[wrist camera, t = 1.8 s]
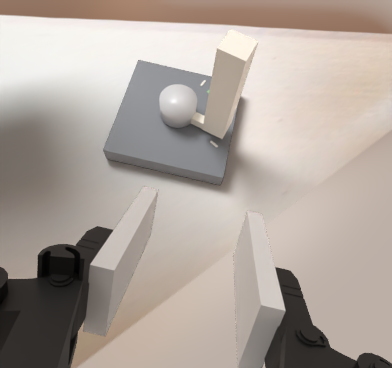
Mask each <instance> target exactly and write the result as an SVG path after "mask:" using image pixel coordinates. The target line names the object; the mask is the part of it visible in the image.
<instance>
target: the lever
mask: <svg viewBox="0 0 392 368" xmlns="http://www.w3.org/2000/svg"><path fill="white" fill-rule="evenodd" d="M257 44H258V41H257V40H255V39H253V38H251V37H248V36H246V35H244V34H242V33H239V32H237V31H235V30H232V29H230V30H229V32H228V33H227V35H226V36H225V38H224V39H223V40H222V42H221V43H220V45H219V46H218V48H217V52H216V57H215V63H214V68H213V74H212V79H211V85H210V90H209V95H208V101H207V106H206V112H205V116H204V115H202V114H200V113H197V112H196V106H197V96H196V94H195V92H194V91H193V90H192V89H191V88H189V87H187V86H185V85H181V84H174V85H170V86H168V87H166V88H165V89H164V90H163V91H162V92H161V94H160V97H159V102H160V116H161V119H162V120H163V122H164V123H165V124H167V125H168V126H171V127H174V128H183V127H186V126H188V125H190V124H193V125H195V126H197V127H199V128H201V129H202V130H204V131H206V132H208V133H210V134H212V135H214V136H216V137H219V138H221V139H223V137H224V135H225V134H226V132H227V130H228V128H229V127H230V125H231V123H232V120H233V117H234V114H235V111H236V108H237V105H238V102H239V99H240V96H241V93H242V90H243V87H244V84H245V81H246V78H247V75H248V72H249V68H250V65H251V62H252V59H253V56H254V53H255V50H256V47H257Z"/></svg>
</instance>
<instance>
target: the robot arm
mask: <svg viewBox="0 0 392 368" xmlns="http://www.w3.org/2000/svg"><path fill="white" fill-rule="evenodd" d="M157 196H158V189H154V188H150V187H145V186H144V187H143V188H142V189H141V191H140V192H139V194H138V195H137V197H136V198H135V200H134V201H133V203H132V204H131V206H130V207H129V208H128V210H127V211H126V213H125V214H124V216H123V217H122V219H121V220H120V222H119V223H118V225H117V226H116V227H115V229H114V230H111V229H107V228H103V227H98V226H97V227H95V228H93V229H91V230H89V231H87V232H86V233H85V234H84V236H83V237H82V238H81V240H79V242H78V243H77V244H76V246H73V245H68V244H58V245H53V246H49V247H47V248H45V249H43V250H42V251H41V252H40V253H39V254H38V271H37V278H34V279H8V273H7V272H6V271H5V269H3V268H1V267H0V368H70V367H71V363H72V359H73V355H74V351H75V347H76V343H77V336H78V330H79V329H80V327H81V325H82V323H83V321H84V328H83V331H84V332H89V333H93V334H97V335H101V336H106V334H107V331H108V329H109V327H110V325H111V322H112V320H113V318H114V316H115V313H116V311H117V309H118V307H119V305H120V302H121V300H122V298H123V296H124V293H125V291H126V289H127V287H128V284H129V282H130V280H131V278H132V275H133V273H134V271H135V269H136V266H137V264H138V262H139V260H140V258H141V255H142V253H143V251H144V249H145V246H146V244H147V242H148V240H149V237H150V234H151V229H152V223H153V218H154V212H155V207H156V201H157ZM233 261H234V285H235V286H234V287H235V314H236V340H237V365H238V368H262V367H263V364H264V362H265V367H266V368H392V364H391V363H390V362H388V361H387V360H385V359H384V358H382V357H380V356H378V355H374V354H372V353H363V354H361V355H360V356H359V357H358V359H357V361H355V360H353V359H351V358H349V357H347V356H345V355H343V354H341V353H339V352H337V351H335V350H334V349H332V348H331V347H330V345H329V342H328V339H327V338H326V336H325V335H324V334H323V332H321V331H320V330H319V329H318V328H317V327H316V326H314V325H313V324H312V321H311V318H310V315H309V312H308V309H307V306H306V303H305V300H304V299H303V294H302V291H301V288H300V285H299V282H298V280H297V278H296V277H295V276H294V275H293V274H292V272H291V271H289V270H285V269H281V268H276V267H275V265H274V261H273V257H272V253H271V249H270V244H269V240H268V236H267V232H266V228H265V224H264V220H263V216H262V214H261V213H257V212H253V211H248V210H247V212H246V216H245V219H244V222H243V225H242V229H241V232H240V235H239V239H238V242H237V245H236V248H235V252H234V255H233Z"/></svg>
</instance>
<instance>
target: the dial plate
mask: <svg viewBox="0 0 392 368" xmlns="http://www.w3.org/2000/svg"><path fill="white" fill-rule="evenodd" d="M211 79H212V77H211V76H206V75H202V74H198V73H193V72H189V71H185V70H180V69H176V68H172V67H167V66H163V65H159V64H154V63H150V62H146V61H141V60H138V62H137V65H136V67H135V70H134V72H133V75H132V78H131V80H130V83H129V85H128V88H127V90H126V93H125V96H124V98H123V101H122V103H121V106H120V108H119V111H118V113H117V116H116V119H115V121H114V124H113V126H112V129H111V131H110V134H109V137H108V139H107V142H106V144H105V147H104V149H103V151H104V153H105V156H106V158H107V159H110V160H114V161H118V162H122V163H127V164H131V165H135V166H140V167H144V168H148V169H152V170H157V171H161V172H165V173H170V174H174V175H178V176H182V177H187V178H191V179H195V180H200V181H204V182H208V183H212V184H217V185H221V182H222V180H223V177H224V172H225V167H226V162H227V157H228V152H229V147H230V142H231V137H232V132H233V127H234V122H235V117H236V112H237V108H236V111H235V114H234V117H233V120H232V123H231V125H230V127H229V128H228V130H227V132H226V134H225V135H224V137H223V139H221V138H219V137H216V136H214V135H212V134H210V133H208V132H206V131H204V130H202V129H201V128H199V127H197V126H195V125H193V124H190V125H188V126H186V127H183V128H174V127H171V126H168V125H167V124H165V123H164V122H163V120H162V119H161V116H160V102H159V97H160V94H161V92H162V91H163V90H164V89H165V88H166V87H168V86H170V85H174V84H181V85H185V86H187V87H189V88H191V89H192V90H193V91H194V92H195V94H196V96H197V106H196V112H197V113H200V114H202V115H204V116H205V112H206V106H207V101H208V95H209V90H210V85H211ZM237 107H238V105H237Z"/></svg>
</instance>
